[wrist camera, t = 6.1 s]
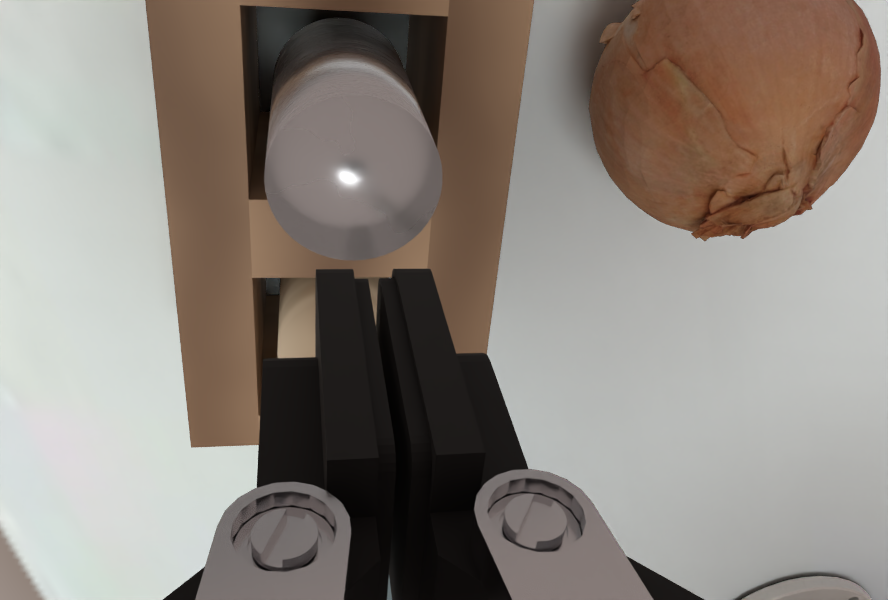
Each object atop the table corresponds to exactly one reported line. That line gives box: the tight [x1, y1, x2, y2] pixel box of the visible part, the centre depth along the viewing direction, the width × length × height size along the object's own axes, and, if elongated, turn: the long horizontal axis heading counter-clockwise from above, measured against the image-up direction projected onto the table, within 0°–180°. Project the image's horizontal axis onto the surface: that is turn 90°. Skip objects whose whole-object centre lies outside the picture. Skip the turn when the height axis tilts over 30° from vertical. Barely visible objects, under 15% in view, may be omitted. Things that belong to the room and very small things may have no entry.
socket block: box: [145, 0, 534, 447], centre depth 28 cm, size 10×16×8 cm, turn 175°
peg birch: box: [277, 277, 388, 358], centre depth 29 cm, size 4×4×8 cm
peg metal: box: [264, 18, 442, 261], centre depth 21 cm, size 4×4×8 cm
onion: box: [589, 0, 881, 241], centre depth 28 cm, size 10×9×10 cm
